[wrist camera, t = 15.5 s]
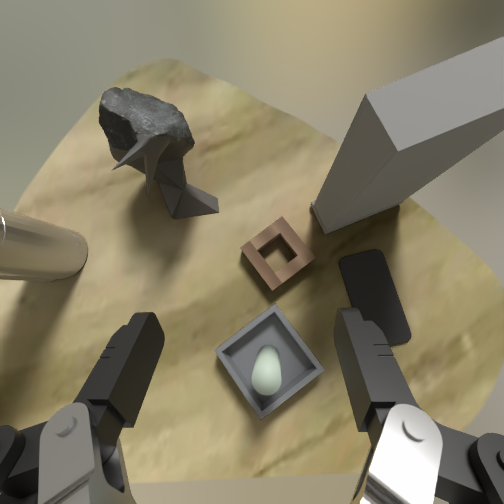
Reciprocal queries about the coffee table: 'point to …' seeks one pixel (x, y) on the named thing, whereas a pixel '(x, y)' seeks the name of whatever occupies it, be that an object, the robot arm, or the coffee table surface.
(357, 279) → the phone
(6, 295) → the coffee table surface
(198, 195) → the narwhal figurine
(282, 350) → the tray
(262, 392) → the pale green rounded cylinder
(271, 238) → the brown hollow square block
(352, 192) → the tall grey upright box
